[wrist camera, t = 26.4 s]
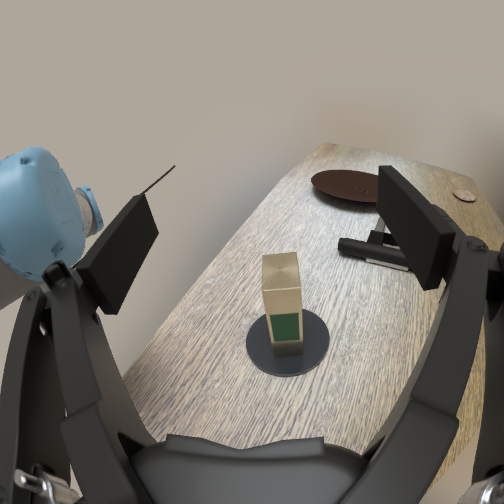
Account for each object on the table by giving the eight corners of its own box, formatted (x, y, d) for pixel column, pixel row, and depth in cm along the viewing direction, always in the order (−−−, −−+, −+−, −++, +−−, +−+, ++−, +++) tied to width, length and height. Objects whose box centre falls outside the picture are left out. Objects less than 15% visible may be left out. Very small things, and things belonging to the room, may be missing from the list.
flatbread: (456, 200, 61) (456, 197, 60) (450, 189, 66) (451, 186, 66) (478, 204, 58) (479, 201, 57) (471, 193, 63) (472, 190, 62)
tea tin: (273, 323, 40) (262, 255, 33) (300, 321, 40) (296, 251, 32) (273, 358, 35) (261, 292, 28) (303, 355, 35) (301, 288, 27)
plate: (419, 188, 69) (421, 177, 67) (380, 227, 56) (381, 213, 54) (345, 166, 88) (345, 156, 86) (291, 194, 75) (290, 182, 73)
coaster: (248, 312, 44) (248, 310, 43) (323, 306, 42) (323, 303, 42) (244, 378, 34) (243, 376, 34) (334, 372, 32) (334, 370, 32)
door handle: (355, 209, 59) (335, 244, 48) (437, 226, 49) (439, 268, 39) (354, 221, 61) (334, 259, 50) (434, 239, 51) (434, 283, 40)
